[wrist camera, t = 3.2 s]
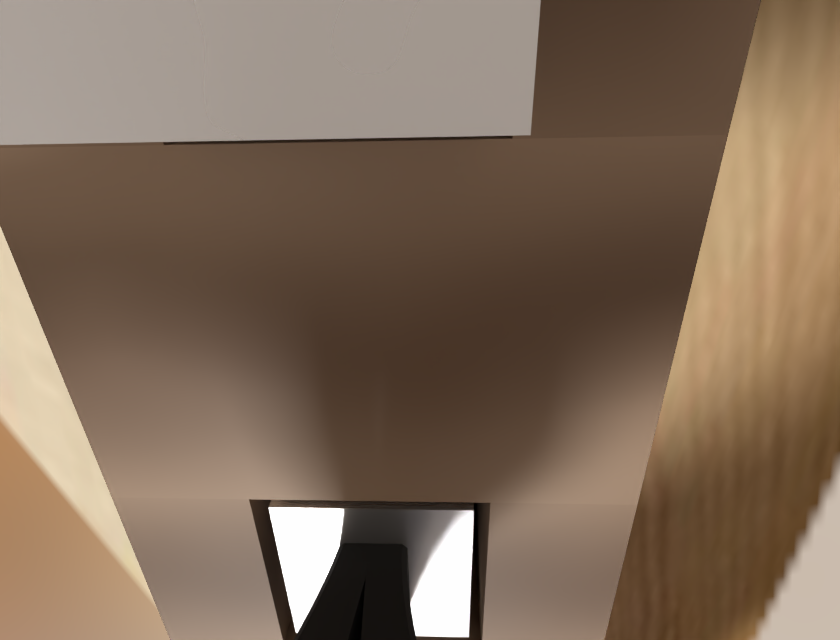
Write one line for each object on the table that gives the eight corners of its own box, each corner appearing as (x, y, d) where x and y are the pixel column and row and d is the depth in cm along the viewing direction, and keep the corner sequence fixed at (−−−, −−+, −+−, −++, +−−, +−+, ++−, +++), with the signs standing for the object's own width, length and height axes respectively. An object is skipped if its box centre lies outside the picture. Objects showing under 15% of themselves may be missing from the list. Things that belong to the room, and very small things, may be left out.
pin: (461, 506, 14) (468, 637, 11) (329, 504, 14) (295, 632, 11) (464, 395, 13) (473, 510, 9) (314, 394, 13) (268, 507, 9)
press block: (550, 581, 16) (583, 726, 12) (253, 575, 16) (201, 713, 13) (717, -534, 6) (1099, -1383, 3) (-21, -477, 7) (-561, -1141, 3)
